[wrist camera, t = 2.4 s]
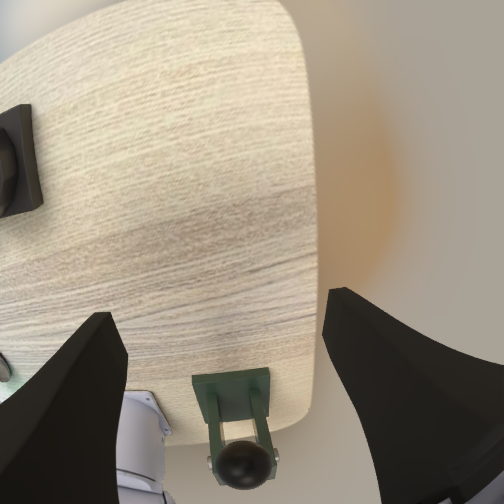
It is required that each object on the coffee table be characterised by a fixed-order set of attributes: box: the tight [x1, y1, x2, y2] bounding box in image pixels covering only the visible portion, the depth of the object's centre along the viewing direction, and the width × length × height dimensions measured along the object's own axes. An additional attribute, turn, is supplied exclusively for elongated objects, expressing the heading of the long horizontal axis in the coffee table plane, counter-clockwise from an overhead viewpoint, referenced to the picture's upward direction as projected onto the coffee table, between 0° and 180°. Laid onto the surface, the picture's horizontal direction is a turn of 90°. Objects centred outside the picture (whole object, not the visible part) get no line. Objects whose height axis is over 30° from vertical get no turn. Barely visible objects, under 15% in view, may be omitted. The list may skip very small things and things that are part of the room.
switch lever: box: [215, 441, 272, 490], centre depth 15 cm, size 13×3×3 cm, turn 2°
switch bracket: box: [192, 367, 279, 485], centre depth 22 cm, size 8×7×9 cm
